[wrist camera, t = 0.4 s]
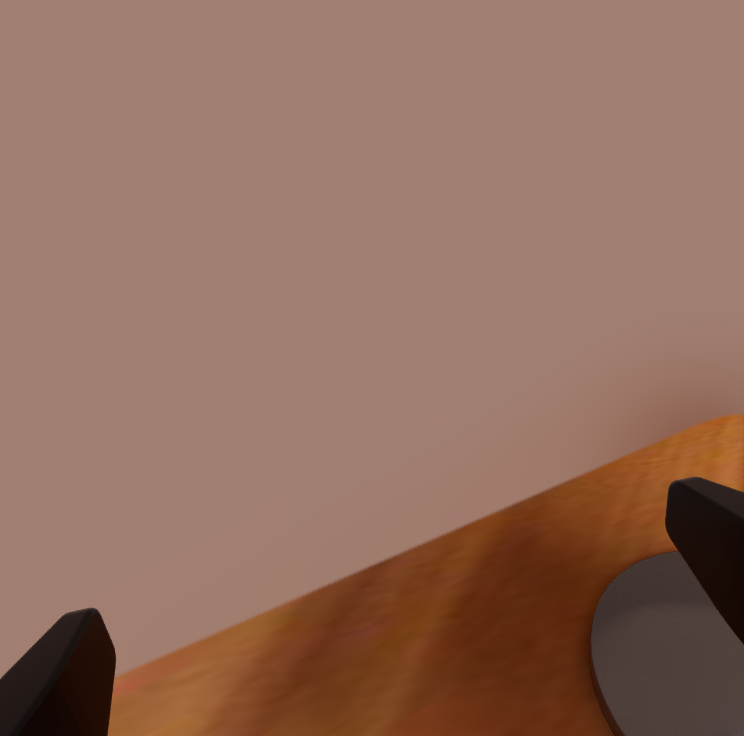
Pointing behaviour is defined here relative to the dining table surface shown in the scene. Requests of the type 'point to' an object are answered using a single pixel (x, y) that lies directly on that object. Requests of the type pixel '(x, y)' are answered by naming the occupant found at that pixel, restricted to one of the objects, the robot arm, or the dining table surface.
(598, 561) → the dining table surface
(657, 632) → the plate
